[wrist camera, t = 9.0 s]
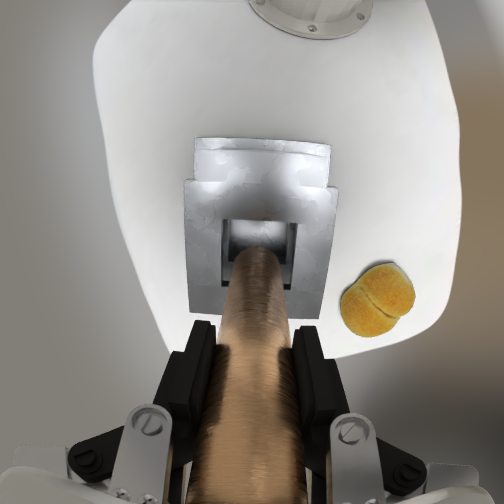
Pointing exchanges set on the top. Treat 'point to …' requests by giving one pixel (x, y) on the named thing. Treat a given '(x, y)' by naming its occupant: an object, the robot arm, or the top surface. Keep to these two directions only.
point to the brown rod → (251, 397)
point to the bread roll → (377, 300)
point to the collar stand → (259, 218)
